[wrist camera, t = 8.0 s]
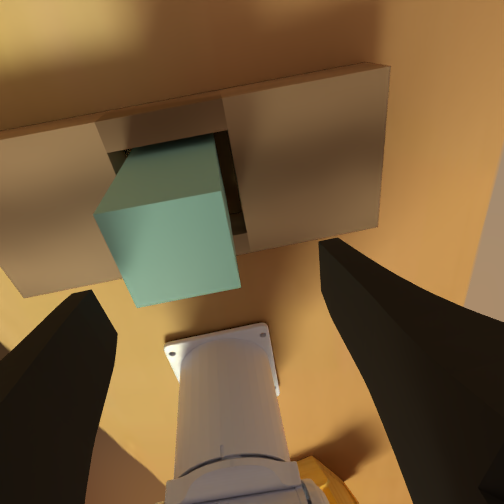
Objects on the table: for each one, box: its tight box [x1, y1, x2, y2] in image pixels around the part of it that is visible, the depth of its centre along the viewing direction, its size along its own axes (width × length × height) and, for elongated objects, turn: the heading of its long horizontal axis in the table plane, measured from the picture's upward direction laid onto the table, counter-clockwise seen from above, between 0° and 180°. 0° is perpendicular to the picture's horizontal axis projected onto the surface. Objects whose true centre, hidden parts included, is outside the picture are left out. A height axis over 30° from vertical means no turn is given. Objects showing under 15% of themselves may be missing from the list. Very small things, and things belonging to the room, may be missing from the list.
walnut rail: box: [0, 62, 391, 298], centre depth 17 cm, size 8×20×2 cm, turn 98°
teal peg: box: [93, 133, 241, 308], centre depth 15 cm, size 4×4×8 cm
